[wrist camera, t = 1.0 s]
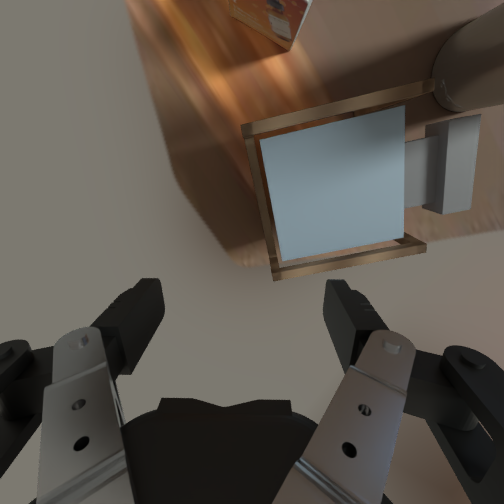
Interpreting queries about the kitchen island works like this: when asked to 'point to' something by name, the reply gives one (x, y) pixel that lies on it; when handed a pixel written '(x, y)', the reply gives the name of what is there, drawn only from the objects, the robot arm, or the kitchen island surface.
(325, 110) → the trapdoor frame
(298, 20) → the small box
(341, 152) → the trapdoor
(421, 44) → the kitchen island surface
